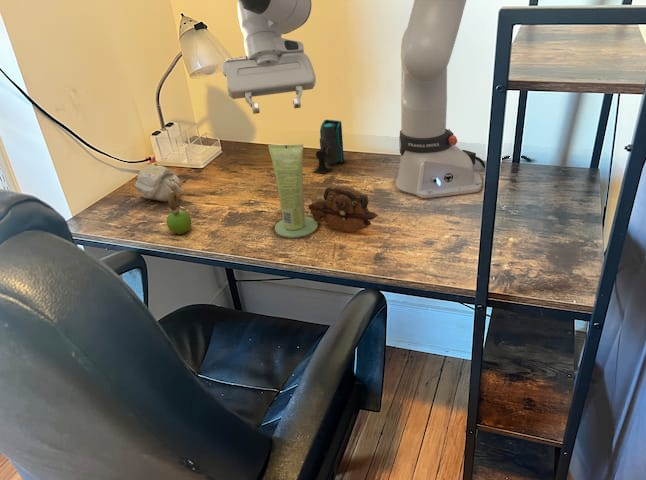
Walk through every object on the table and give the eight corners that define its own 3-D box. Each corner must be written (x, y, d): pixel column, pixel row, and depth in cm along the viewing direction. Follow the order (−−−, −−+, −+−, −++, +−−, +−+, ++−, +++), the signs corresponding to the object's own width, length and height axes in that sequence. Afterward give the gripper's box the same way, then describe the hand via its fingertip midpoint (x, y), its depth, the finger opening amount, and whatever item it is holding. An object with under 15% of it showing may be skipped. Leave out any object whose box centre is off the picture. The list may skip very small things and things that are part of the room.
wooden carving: (306, 228, 123) (302, 188, 117) (314, 219, 126) (311, 180, 121) (374, 240, 118) (374, 199, 112) (380, 230, 122) (380, 190, 116)
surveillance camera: (306, 130, 145) (324, 119, 153) (310, 171, 152) (328, 159, 159) (324, 132, 143) (342, 121, 150) (328, 174, 150) (344, 161, 157)
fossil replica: (177, 206, 137) (189, 192, 146) (173, 175, 133) (185, 163, 142) (130, 204, 137) (145, 191, 146) (125, 173, 133) (140, 161, 142)
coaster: (319, 216, 128) (319, 215, 128) (315, 237, 120) (315, 235, 120) (278, 218, 129) (277, 216, 129) (271, 238, 120) (271, 237, 120)
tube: (299, 217, 128) (290, 138, 117) (312, 225, 124) (303, 143, 114) (279, 225, 125) (267, 145, 114) (291, 233, 121) (280, 150, 111)
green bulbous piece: (195, 223, 128) (183, 176, 122) (192, 236, 123) (180, 188, 117) (172, 226, 128) (159, 179, 121) (168, 239, 123) (154, 191, 116)
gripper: (218, 51, 119) (229, 109, 117) (309, 41, 123) (321, 97, 121) (221, 67, 125) (232, 122, 123) (307, 57, 129) (319, 110, 127)
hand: (277, 109), depth 122 cm, fingers open, 8 cm apart
